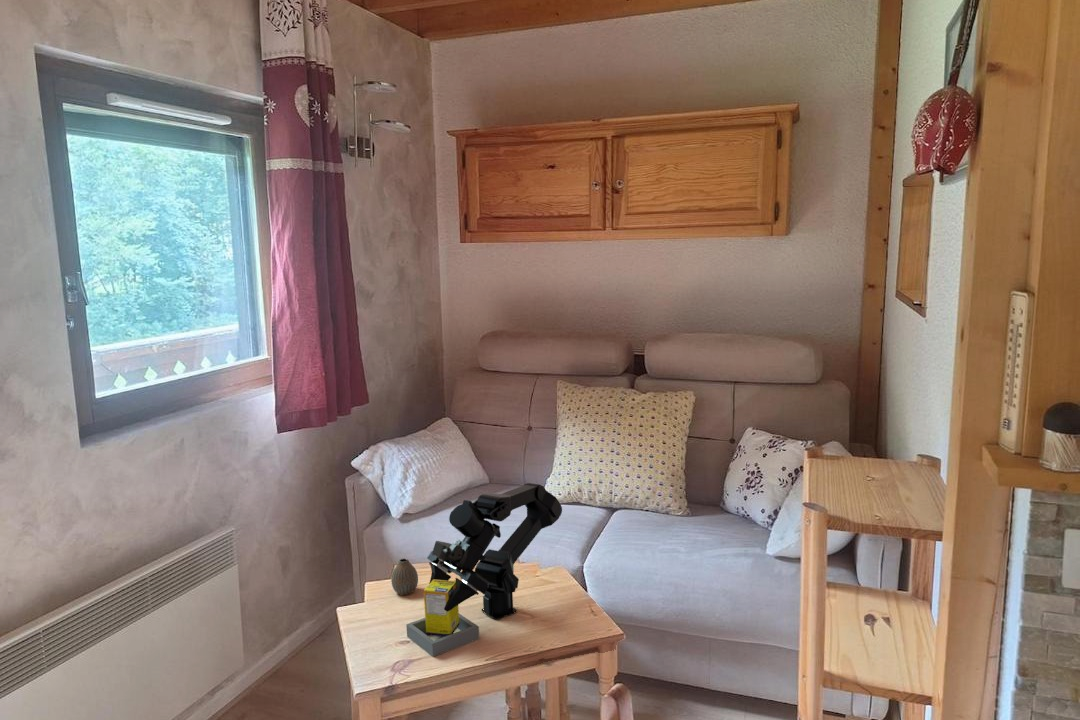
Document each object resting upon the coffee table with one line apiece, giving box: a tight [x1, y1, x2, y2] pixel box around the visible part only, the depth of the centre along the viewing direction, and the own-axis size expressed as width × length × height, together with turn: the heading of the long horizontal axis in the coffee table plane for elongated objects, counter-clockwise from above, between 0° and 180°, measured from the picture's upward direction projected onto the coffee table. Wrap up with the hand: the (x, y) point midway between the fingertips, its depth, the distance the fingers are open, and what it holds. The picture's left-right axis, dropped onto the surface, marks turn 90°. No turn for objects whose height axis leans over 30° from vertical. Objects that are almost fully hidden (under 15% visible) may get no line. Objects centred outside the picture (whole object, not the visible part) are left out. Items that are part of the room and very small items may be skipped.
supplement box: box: [423, 579, 460, 638], centre depth 170 cm, size 6×6×11 cm
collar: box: [406, 613, 480, 658], centre depth 170 cm, size 12×12×3 cm
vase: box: [390, 558, 419, 596], centre depth 195 cm, size 7×7×9 cm
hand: (436, 604), depth 169 cm, fingers closed on supplement box, 8 cm apart
